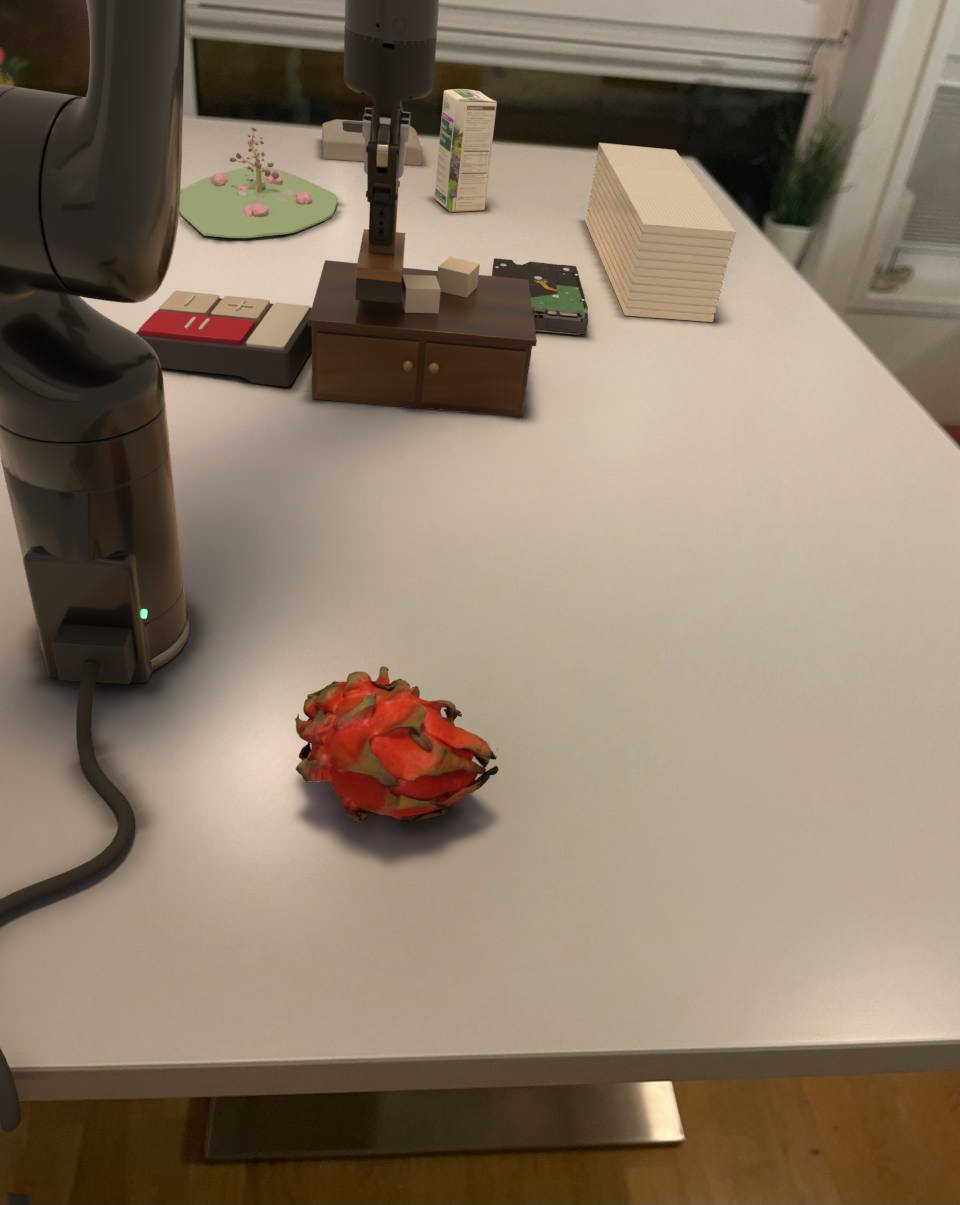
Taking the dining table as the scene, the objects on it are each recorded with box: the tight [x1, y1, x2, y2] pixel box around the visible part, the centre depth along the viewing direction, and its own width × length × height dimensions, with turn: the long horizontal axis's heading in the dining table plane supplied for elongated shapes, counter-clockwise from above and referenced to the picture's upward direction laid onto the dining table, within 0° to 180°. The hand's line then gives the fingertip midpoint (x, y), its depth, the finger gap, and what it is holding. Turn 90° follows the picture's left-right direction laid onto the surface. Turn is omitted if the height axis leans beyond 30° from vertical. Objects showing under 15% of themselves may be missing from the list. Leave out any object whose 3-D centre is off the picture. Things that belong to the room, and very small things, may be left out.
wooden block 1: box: [401, 275, 441, 314], centre depth 94 cm, size 3×3×2 cm
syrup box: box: [434, 88, 498, 213], centre depth 140 cm, size 6×6×14 cm
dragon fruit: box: [294, 666, 500, 823], centre depth 58 cm, size 8×8×12 cm
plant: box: [179, 127, 338, 239], centre depth 132 cm, size 25×21×9 cm
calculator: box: [135, 290, 312, 387], centre depth 100 cm, size 11×4×15 cm
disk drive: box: [491, 257, 589, 335], centre depth 118 cm, size 10×3×15 cm
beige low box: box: [321, 118, 423, 166], centre depth 158 cm, size 10×4×15 cm
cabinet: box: [308, 259, 538, 417], centre depth 99 cm, size 15×21×8 cm
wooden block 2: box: [437, 256, 480, 298], centre depth 99 cm, size 3×3×2 cm
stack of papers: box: [585, 142, 737, 323], centre depth 129 cm, size 32×11×11 cm, turn 4°
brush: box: [355, 179, 406, 304], centre depth 93 cm, size 10×4×9 cm, turn 1°
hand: (381, 237), depth 93 cm, fingers closed on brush, 2 cm apart
